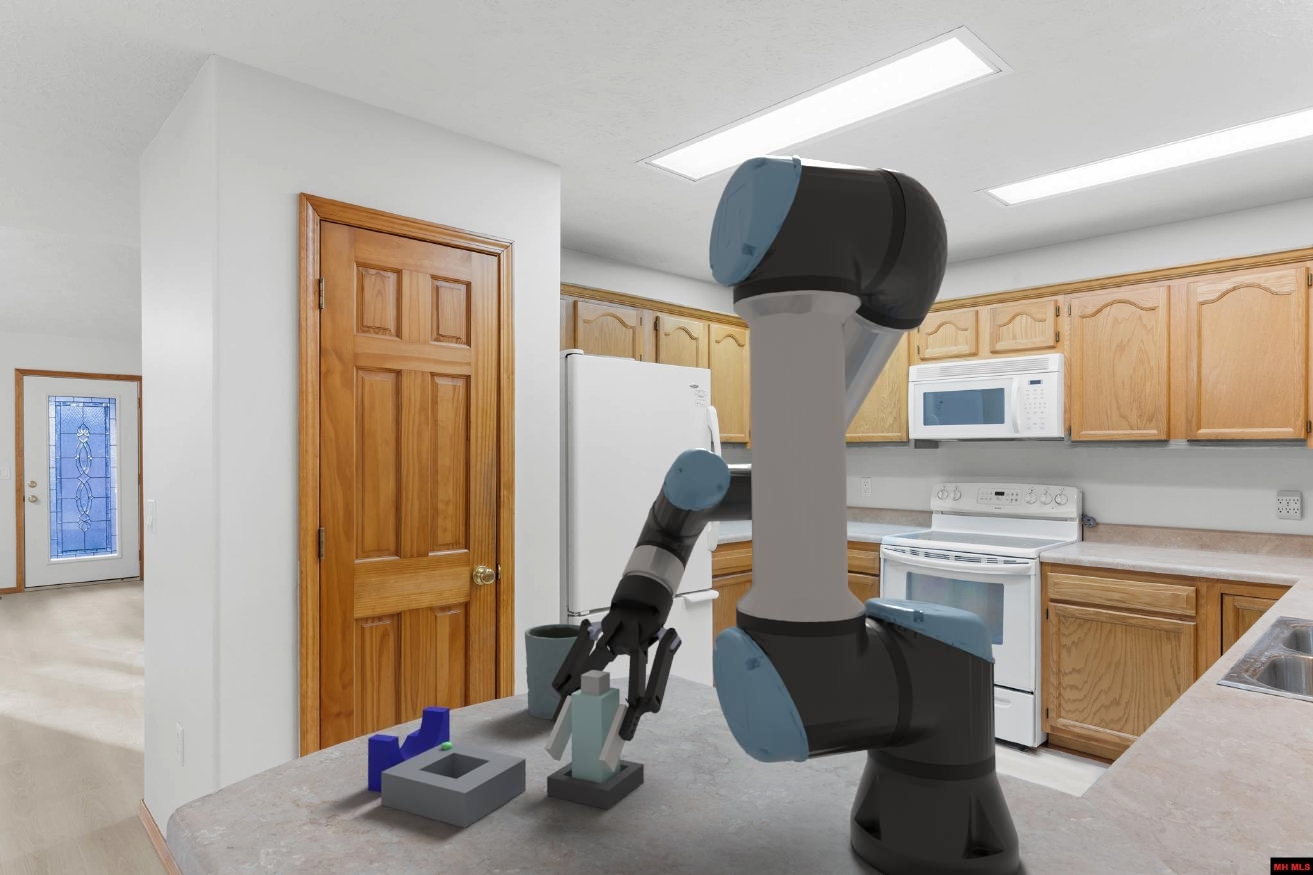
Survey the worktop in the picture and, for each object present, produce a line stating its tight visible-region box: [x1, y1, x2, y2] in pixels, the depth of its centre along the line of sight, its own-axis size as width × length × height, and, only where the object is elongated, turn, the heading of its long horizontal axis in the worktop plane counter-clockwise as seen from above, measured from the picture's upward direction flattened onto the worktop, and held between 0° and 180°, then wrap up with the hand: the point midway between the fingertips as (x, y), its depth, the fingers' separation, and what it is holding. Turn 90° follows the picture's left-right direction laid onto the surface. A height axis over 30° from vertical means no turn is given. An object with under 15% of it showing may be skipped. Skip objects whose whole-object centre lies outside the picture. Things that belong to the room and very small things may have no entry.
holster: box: [546, 758, 645, 811], centre depth 86 cm, size 8×8×2 cm
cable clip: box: [367, 706, 451, 793], centre depth 91 cm, size 12×4×6 cm, turn 163°
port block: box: [380, 742, 527, 829], centre depth 84 cm, size 12×10×4 cm
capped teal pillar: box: [571, 670, 621, 784], centre depth 86 cm, size 4×4×13 cm
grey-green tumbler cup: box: [524, 623, 580, 720], centre depth 114 cm, size 10×10×12 cm
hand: (578, 759), depth 83 cm, fingers open, 6 cm apart
